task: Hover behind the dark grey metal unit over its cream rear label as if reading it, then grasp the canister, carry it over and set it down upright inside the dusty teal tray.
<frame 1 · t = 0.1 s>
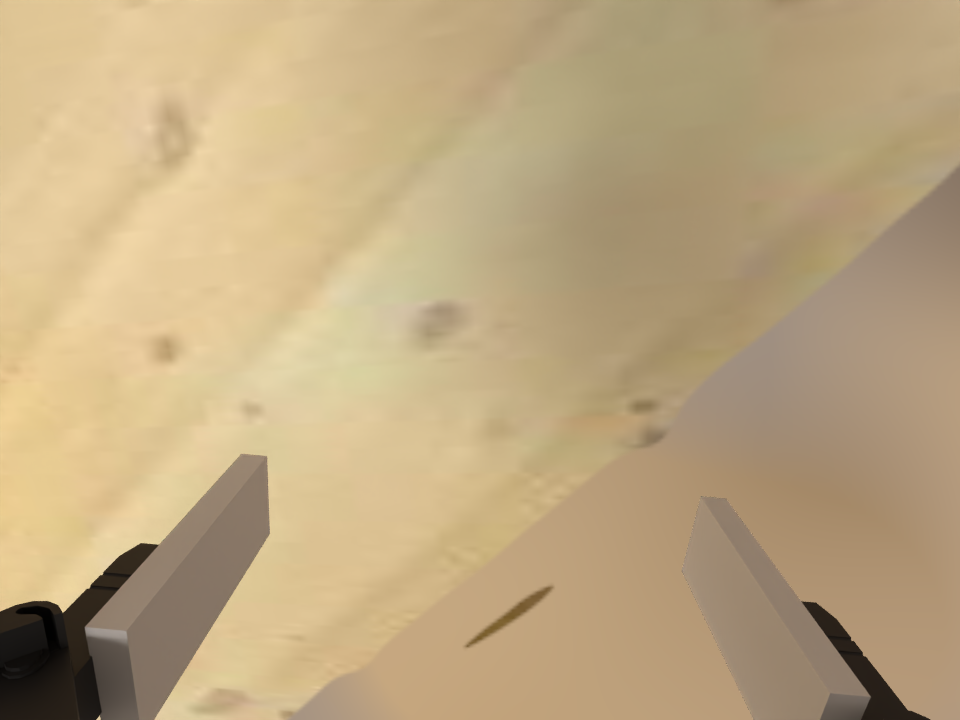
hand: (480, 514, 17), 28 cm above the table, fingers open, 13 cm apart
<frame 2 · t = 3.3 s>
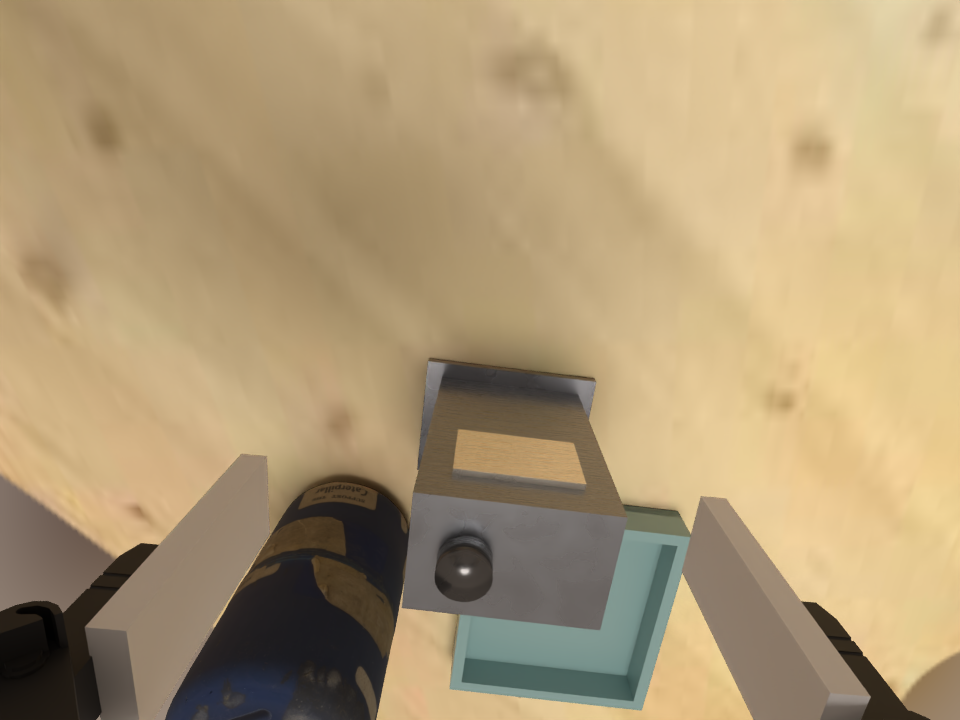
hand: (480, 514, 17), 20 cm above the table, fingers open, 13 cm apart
unit: (503, 423, 37), on the table
tray: (558, 587, 41), on the table
canister: (351, 528, 40), on the table
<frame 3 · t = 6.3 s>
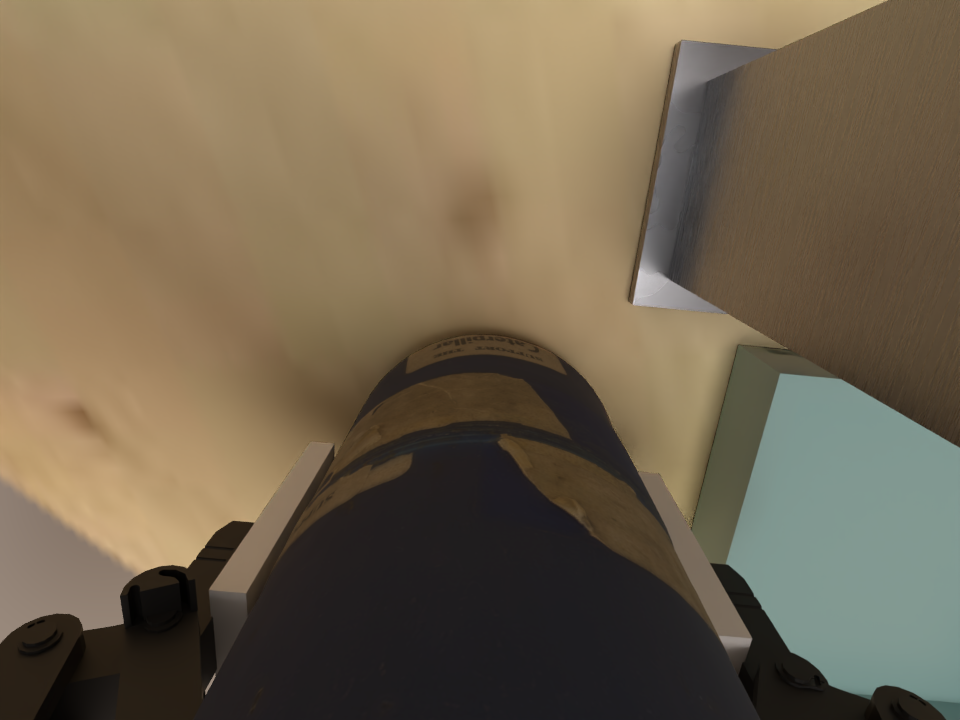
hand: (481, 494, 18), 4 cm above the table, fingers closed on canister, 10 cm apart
unit: (815, 198, 18), on the table
tray: (869, 544, 22), on the table
canister: (485, 439, 21), on the table, touching gripper
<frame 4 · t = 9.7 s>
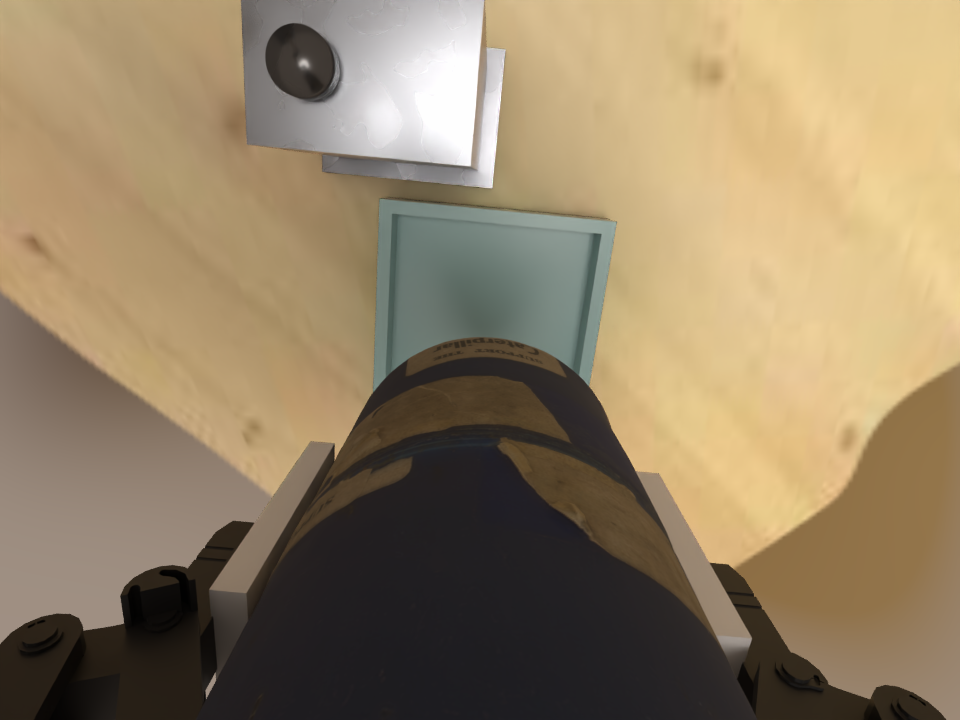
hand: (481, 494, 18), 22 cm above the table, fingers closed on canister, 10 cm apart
unit: (412, 113, 34), on the table
tray: (486, 321, 39), on the table
canister: (485, 441, 21), point 18 cm above the table, touching gripper
when the fingers open (6 cm above the table, at t = 13.0 s): canister drops 1 cm, resting on tray.
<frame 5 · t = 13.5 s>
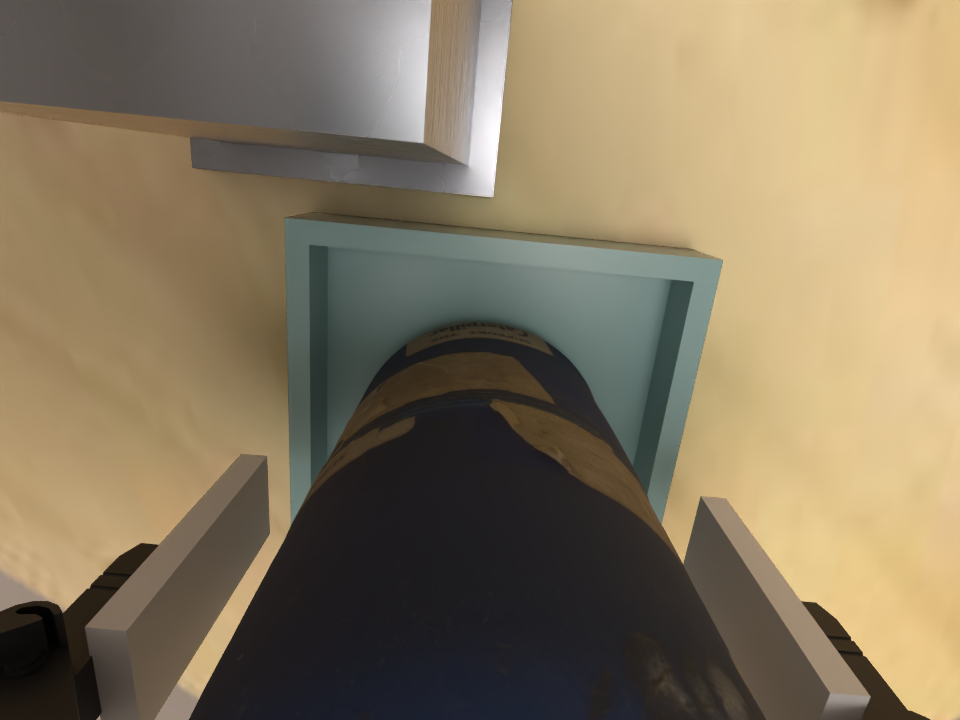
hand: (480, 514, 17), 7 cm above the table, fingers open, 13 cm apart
unit: (349, 63, 19), on the table
tray: (483, 415, 23), on the table
canister: (480, 421, 23), point 1 cm above the table, touching tray
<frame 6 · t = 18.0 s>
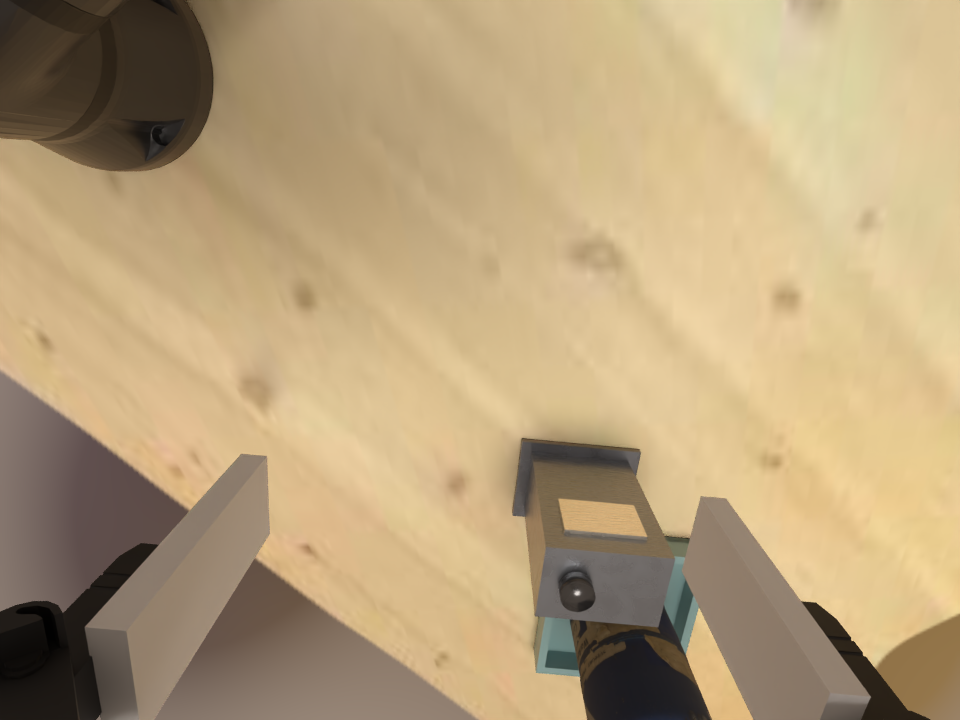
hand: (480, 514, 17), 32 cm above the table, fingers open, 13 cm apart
unit: (574, 481, 52), on the table
tray: (613, 596, 56), on the table
canister: (613, 600, 56), point 1 cm above the table, touching tray
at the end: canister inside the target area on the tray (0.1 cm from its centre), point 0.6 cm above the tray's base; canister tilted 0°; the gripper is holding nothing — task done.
